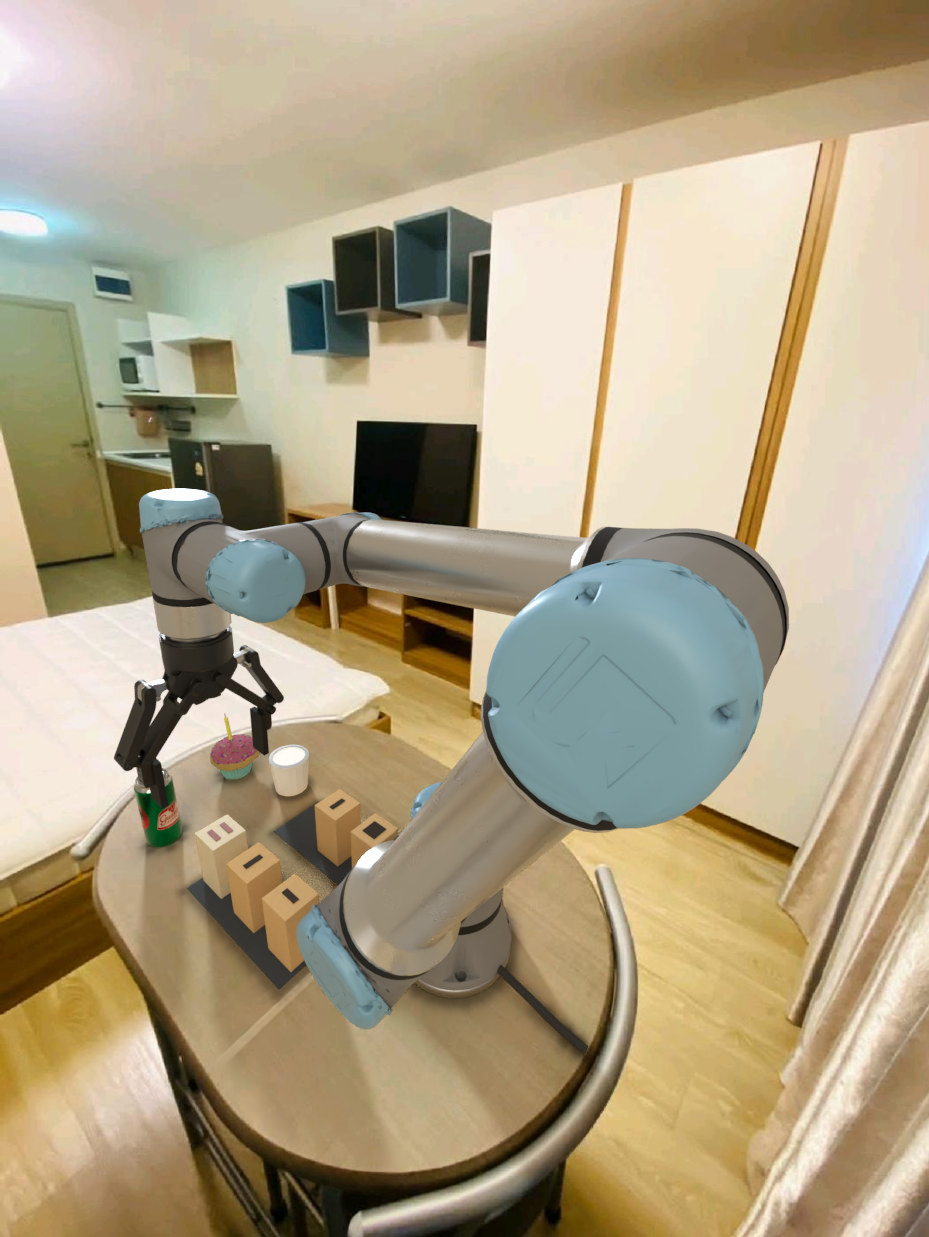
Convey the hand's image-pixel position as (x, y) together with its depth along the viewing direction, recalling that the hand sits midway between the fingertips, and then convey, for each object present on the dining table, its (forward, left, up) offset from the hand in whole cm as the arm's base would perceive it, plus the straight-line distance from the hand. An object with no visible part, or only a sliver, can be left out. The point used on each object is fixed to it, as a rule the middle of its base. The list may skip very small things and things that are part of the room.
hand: (214, 774), depth 68 cm
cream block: (+1, 0, -19) cm, 19 cm away
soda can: (+16, +2, -20) cm, 25 cm away
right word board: (-7, -14, -20) cm, 25 cm away
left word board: (-7, 0, -20) cm, 21 cm away
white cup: (+11, -18, -20) cm, 29 cm away
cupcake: (+22, -14, -20) cm, 33 cm away
